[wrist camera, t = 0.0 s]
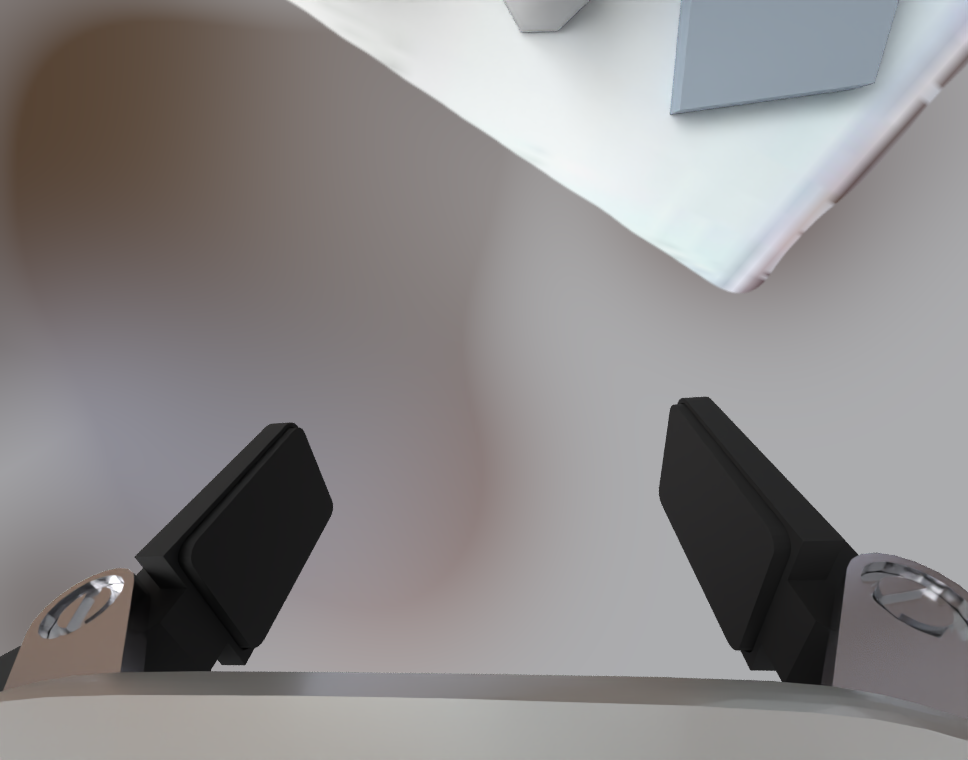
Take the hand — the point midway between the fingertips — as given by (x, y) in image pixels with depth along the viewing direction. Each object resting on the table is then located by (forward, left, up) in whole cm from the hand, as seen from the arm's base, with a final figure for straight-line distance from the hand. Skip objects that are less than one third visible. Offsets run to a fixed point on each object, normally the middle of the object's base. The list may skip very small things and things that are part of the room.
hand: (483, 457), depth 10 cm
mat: (-15, +22, -31) cm, 41 cm away
